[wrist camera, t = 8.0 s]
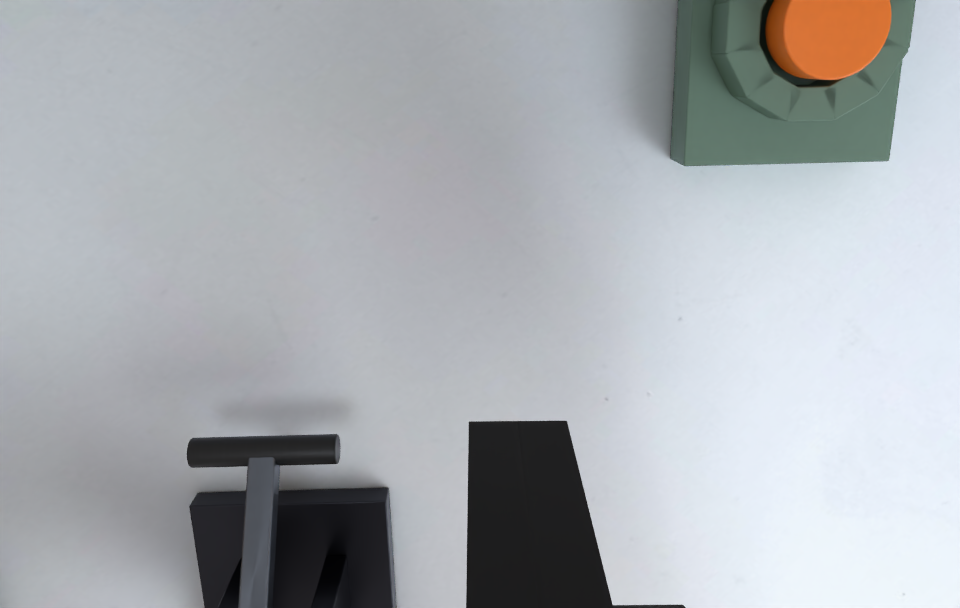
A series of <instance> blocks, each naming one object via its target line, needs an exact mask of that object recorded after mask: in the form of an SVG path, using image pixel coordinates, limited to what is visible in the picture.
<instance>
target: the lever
mask: <svg viewBox="0 0 960 608" xmlns="http://www.w3.org/2000/svg"><path fill="white" fill-rule="evenodd" d="M339 459H340V439H339V436H338V435H337V434H327V435H288V436H249V437H210V438H192V439H191V440H190V442H189V444H188V448H187V460H188V464H189V466H190V467H192V468H198V467H237V466H248V470H247V485H246V500H245V516H244V531H243V547H242V562H241V577H240V593H239V608H273V590H274V571H275V552H276V533H277V514H278V495H279V476H280V465H314V464H337V463H338V462H339Z"/></svg>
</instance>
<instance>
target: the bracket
mask: <svg viewBox="0 0 960 608" xmlns="http://www.w3.org/2000/svg"><path fill="white" fill-rule="evenodd" d="M245 500H246V492H212V493H197V495H196V497H195V498H194V500H193V501H192V503H191V505H190V506H189V507H190V514H191V520H192V527H193V533H194V540H195V547H196V553H197V560H198V566H199V573H200V579H201V586H202V593H203V599H204V606H205V608H239V593H240V577H241V562H242V547H243V531H244V516H245ZM273 608H396V592H395V577H394V562H393V546H392V531H391V515H390V500H389V489H388V488H367V489H328V490H290V491H279V495H278V514H277V533H276V552H275V571H274V590H273Z"/></svg>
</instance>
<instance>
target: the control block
mask: <svg viewBox="0 0 960 608" xmlns="http://www.w3.org/2000/svg"><path fill="white" fill-rule="evenodd" d="M773 1H774V0H678V16H677V36H676V56H675V76H674V96H673V116H672V136H671V157H670V158H671V159H672V160H674V161H676V162H678V163H680V164H682V165H684V166H708V165H749V164H791V163H832V162H873V161H889V156H890V149H891V141H892V134H893V126H894V119H895V111H896V103H897V96H898V88H899V81H900V73H901V66H902V59H903V58H904V56H905V55H906V53H907V52H908V48H909V46H910V39H911V31H912V24H913V17H914V9H915V2H916V0H890V5H891V25H890V30H889V33H888V37H887V39H886V41H885V43H884V45H883V47H882V49H881V50H880V52H879V53H878V54H877V56H876V57H875V58H874V59H873V60H872V61H871V62H870V63H869V64H868V65H867V66H866V67H865V68H863V69H862V70H860V71H859V72H857V73H855V74H853V75H851V76H848V77H846V78H842V79H837V80H819V79H804V78H799V77H796V76H793V75H791V74H789V73H787V72H785V71H784V70H783V69H781V68H780V67H779V66H778V65H777V64H776V62H775V61H774V60H773V58H772V56H771V54H770V52H769V50H768V47H767V43H766V36H765V26H766V19H767V16H768V12H769V10H770V7H771V5H772V3H773Z"/></svg>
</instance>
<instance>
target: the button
mask: <svg viewBox="0 0 960 608" xmlns="http://www.w3.org/2000/svg"><path fill="white" fill-rule="evenodd" d="M890 25H891V5H890V0H774V1H773V3H772V5H771V7H770V10H769V12H768V16H767V19H766V26H765V36H766V43H767V47H768V50H769V52H770V54H771V56H772V58H773V60H774V61H775V62H776V64H777V65H778V66H779V67H780V68H781V69H783V70H784V71H785V72H787V73H789V74H791V75H793V76H796V77H799V78H804V79H819V80H837V79H842V78H846V77H848V76H851V75H853V74H855V73H857V72H859V71H860V70H862V69H863V68H865V67H866V66H867V65H868V64H869V63H870V62H871V61H872V60H873V59H874V58H875V57H876V56H877V54H878V53H879V52H880V50H881V49H882V47H883V45H884V43H885V41H886V39H887V37H888V33H889V30H890Z"/></svg>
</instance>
